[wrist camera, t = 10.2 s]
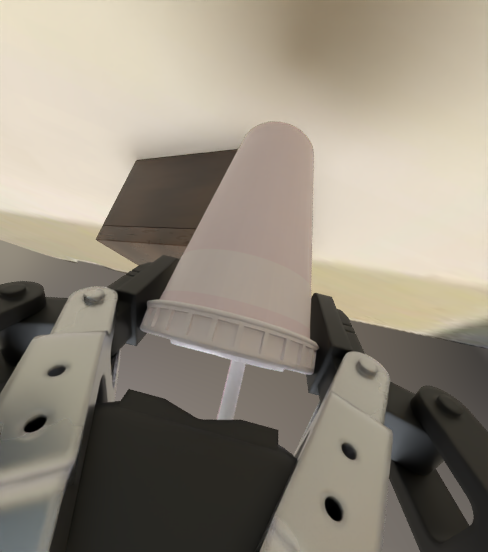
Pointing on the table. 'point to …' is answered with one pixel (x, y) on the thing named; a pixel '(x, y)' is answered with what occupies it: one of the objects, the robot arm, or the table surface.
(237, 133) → the table surface
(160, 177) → the shelf
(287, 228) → the smoothie
